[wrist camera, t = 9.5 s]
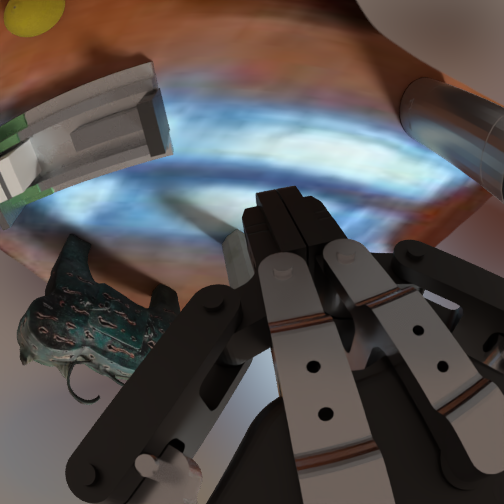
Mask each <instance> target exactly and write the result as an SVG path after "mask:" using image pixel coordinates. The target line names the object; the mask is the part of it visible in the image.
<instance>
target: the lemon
mask: <svg viewBox="0 0 504 504" xmlns="http://www.w3.org/2000/svg"><path fill="white" fill-rule="evenodd" d="M64 8H65V0H10V1H9V2H8V4H7V6H6V8H5V12H4V23H5V26H6V28H7V29H8V30H9V31H10V32H11V33H12V34H14V35H17V36H20V37H33V36H37V35H40V34H42V33H44V32H46V31H48V30H49V29H51V28H52V27H53V26H54V25H55V24H56V23H57V22H58V21H59V19H60V18H61V16H62V14H63V12H64Z"/></svg>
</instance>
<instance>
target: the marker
mask: <svg viewBox="0 0 504 504" xmlns="http://www.w3.org/2000/svg"><path fill="white" fill-rule="evenodd" d="M41 171H42V170H41V167H40V165H39V162H38V160H37V157H36V155H35V152H34V150H33V147H32V144H31V142H30V139H29V140H27V141H25V142H23V143H21V144H19V145H17V146H15V147H13V148H12V149H10V150H8V151H6V152H4V153H3V154H2V155H1V156H0V203H2V202H4V201H6V200H10V199H12V198H13V197H14V196H16V195H19V194H21V193H23V192H24V191H25V190H26V189H27V187H28V186H29V185H30V184H31V183H32V182H33V180H34V179H35V178H36V177H37V176H38V175H39V173H40V172H41Z"/></svg>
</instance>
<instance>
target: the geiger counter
mask: <svg viewBox="0 0 504 504" xmlns="http://www.w3.org/2000/svg"><path fill="white" fill-rule="evenodd" d="M222 248H223V253H224V259H225V264H226V269H227V274H228V279H229V284H230V287H231V288H233V289H236V288H238V287H240V286H242V285H244V284H245V283H247V282H248V281H249V280H250V279H251V278H252V277H253V275H254V271H253V267H252V264H251V260H250V257H249V253H248V250H247V245H246V239H245V234H244V233H242V232H241V231H239V230H238V229H236V230H235V231H234V232H232V233H231V234H230V235H228V236H227V238H226V239H225V241H224V242H223V244H222Z"/></svg>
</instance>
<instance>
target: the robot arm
mask: <svg viewBox="0 0 504 504" xmlns="http://www.w3.org/2000/svg"><path fill="white" fill-rule="evenodd" d="M400 119H401V123H402V126H403V128H404V130H405V132H406V133H407V134H408V135H409V136H410V137H411V138H413V139H414V140H416V141H417V142H419V143H421V144H422V145H424V146H426V147H427V148H429V149H430V150H432V151H433V152H435V153H436V154H438V155H439V156H441V157H442V158H444V159H445V160H447V161H448V162H450V163H451V164H453V165H454V166H455V167H457V168H458V169H460V170H461V171H462V172H464V173H465V174H467V175H468V176H469V177H471V178H472V179H473V180H475V181H476V182H477V183H479V184H480V185H481V186H482V187H484V188H485V189H486V190H487V191H489V192H490V193H491V194H493V195H494V196H495V197H496V198H498V199H499V200H500V201H501V202H502V203H504V108H503V107H501V106H499V105H497V104H495V103H493V102H491V101H488V100H486V99H484V98H482V97H479V96H477V95H475V94H472V93H470V92H467V91H465V90H462V89H459V88H457V87H454V86H452V85H449V84H446V83H443V82H440V81H438V80H435V79H431V78H420V79H418V80H416V81H414V82H413V83H412V84H410V85H409V87H408V88H407V89H406V91H405V93H404V95H403V97H402V101H401V105H400ZM256 204H257V206H256V207H251V208H246V209H245V210H244V213H243V216H242V221H243V227H244V233H245V239H246V245H247V250H248V253H249V257H250V260H251V264H252V267H253V271H254V275H253V277H252V278H251V279H250V280H249V281H248V282H247V283H245V284H244V285H242V286H240V287H238V288H236V289H233V288H231V287H229V286H227V285H220V284H217V285H210V286H207V287H205V288H202V289H201V290H199V291H198V292H197V293H195V295H194V296H193V297H192V298H191V299H190V301H189V302H188V303H187V304H186V306H185V307H184V308H183V309H182V311H181V312H180V313H179V315H178V316H177V317H176V318H175V320H174V321H173V322H172V323H171V325H170V326H169V327H168V329H167V330H166V331H165V332H164V334H163V335H162V336H161V338H160V339H159V340H158V341H157V343H156V344H155V345H154V347H153V348H152V349H151V350H150V352H149V353H148V354H147V356H146V357H145V358H144V360H143V361H142V362H141V363H140V365H139V366H138V367H137V369H136V370H135V371H134V373H133V374H132V375H131V377H130V378H129V379H128V380H127V382H126V383H125V384H124V386H123V387H122V388H121V390H120V391H119V392H118V394H117V395H116V396H115V398H114V399H113V400H112V402H111V403H110V404H109V406H108V407H107V408H106V410H105V411H104V412H103V414H102V415H101V416H100V418H99V419H98V420H97V422H96V423H95V424H94V426H93V427H92V428H91V430H90V431H89V432H88V434H87V435H86V436H85V438H84V439H83V440H82V442H81V443H80V445H79V446H78V447H77V449H76V450H75V451H74V453H73V454H72V455H71V457H70V458H69V460H68V462H67V465H66V471H65V475H66V481H67V484H68V486H69V488H70V490H71V491H72V492H73V494H74V495H75V496H76V497H78V498H79V499H81V500H82V501H85V502H88V503H92V504H197V495H198V491H199V489H200V487H201V484H202V472H201V469H200V468H199V466H198V464H197V463H196V462H195V461H194V460H193V459H192V458H193V457H194V455H195V454H196V452H197V451H198V449H199V448H200V446H201V444H202V443H203V441H204V440H205V438H206V436H207V435H208V433H209V432H210V430H211V429H212V427H213V426H214V424H215V422H216V421H217V419H218V418H219V416H220V414H221V413H222V411H223V409H224V408H225V406H226V404H227V403H228V401H229V400H230V398H231V396H232V394H233V393H234V391H235V389H236V388H237V386H238V385H239V383H240V381H241V380H242V378H243V376H244V374H245V373H246V371H247V369H248V367H249V366H250V364H251V362H252V359H253V357H254V356H256V355H258V354H260V353H261V352H263V351H265V350H267V349H268V348H271V353H272V359H273V364H274V369H275V375H276V381H277V387H278V393H279V397H278V398H277V399H275V400H274V401H272V402H271V403H269V404H268V405H267V406H266V407H265V408H264V409H263V410H262V411H261V412H260V413H259V414H258V415H257V416H256V417H255V419H254V420H253V422H252V423H251V425H250V426H249V428H248V430H247V432H246V434H245V436H244V438H243V439H242V441H241V443H240V445H239V447H238V449H237V451H236V452H235V454H234V456H233V458H232V460H231V462H230V463H229V465H228V467H227V469H226V471H225V472H224V474H223V476H222V478H221V479H220V481H219V483H218V485H217V486H216V488H215V490H214V491H213V493H212V495H211V496H210V498H209V500H208V501H207V503H206V504H504V278H502V277H500V276H498V275H496V274H494V273H491V272H489V271H487V270H485V269H483V268H481V267H478V266H476V265H474V264H472V263H469V262H467V261H465V260H462V259H460V258H458V257H456V256H453V255H451V254H449V253H446V252H444V251H442V250H439V249H437V248H434V247H432V246H429V245H427V244H425V243H422V242H419V241H416V240H403V241H401V242H399V243H397V244H396V246H395V248H394V252H393V253H371V252H369V251H368V250H367V249H366V247H365V246H364V245H362V244H361V243H359V242H357V241H355V240H351V239H348V238H347V237H346V235H345V234H344V232H343V231H342V230H341V228H340V227H339V225H338V224H337V223H336V221H335V220H334V218H333V217H332V216H331V214H330V213H329V212H328V211H327V209H326V207H325V206H324V205H323V203H322V202H321V201H319V200H318V199H316V198H314V197H312V196H307V197H303V196H302V195H301V193H300V192H299V190H298V189H297V187H296V186H290V187H285V188H279V189H276V190H275V189H274V190H269V191H264V192H259V193H256ZM425 290H428V291H430V292H432V293H434V294H437V295H439V296H441V297H443V298H445V299H448V300H450V301H452V302H454V303H456V304H458V305H460V307H459V308H458V309H456V310H450V309H448V308H445V307H443V306H441V305H439V304H436V303H434V302H432V301H430V300H428V299H426V298H424V297H423V293H424V291H425Z"/></svg>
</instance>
